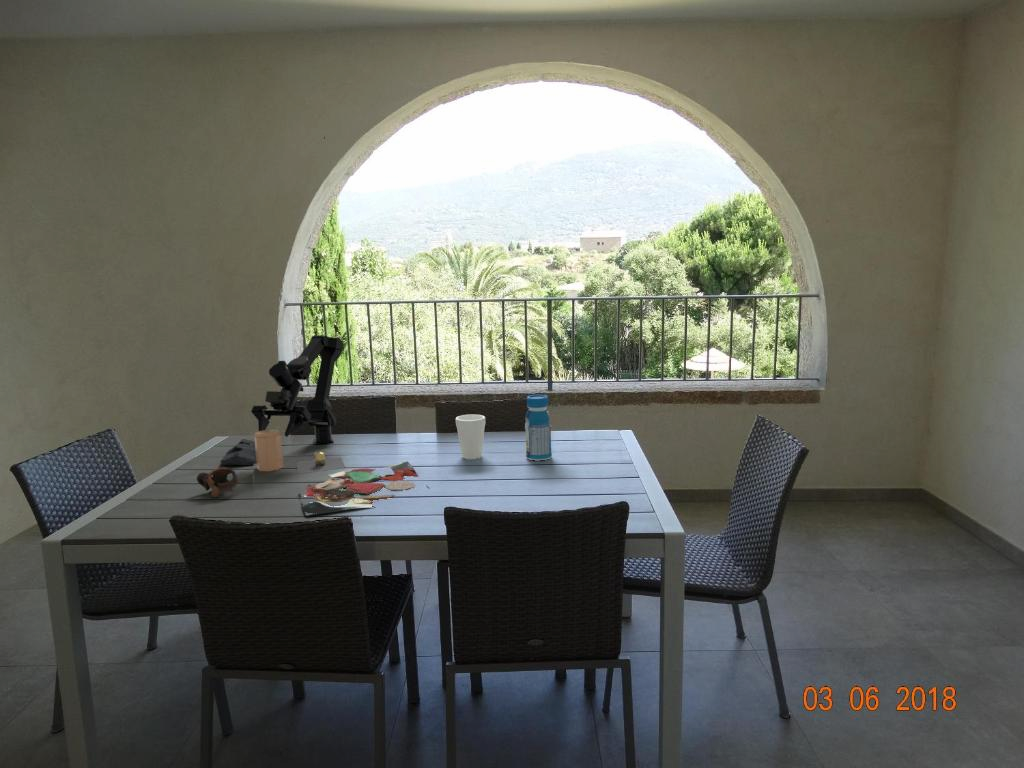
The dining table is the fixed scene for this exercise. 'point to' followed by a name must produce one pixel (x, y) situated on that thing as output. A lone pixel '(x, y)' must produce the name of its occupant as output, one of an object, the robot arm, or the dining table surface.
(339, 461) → the charcoal mat
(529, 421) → the beverage bottle
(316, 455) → the brass weight
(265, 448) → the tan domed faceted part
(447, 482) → the dining table surface
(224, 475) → the brown rounded piece
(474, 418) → the foam cup
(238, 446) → the dark slate chunk
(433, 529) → the dining table surface
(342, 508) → the colorful flat pile
